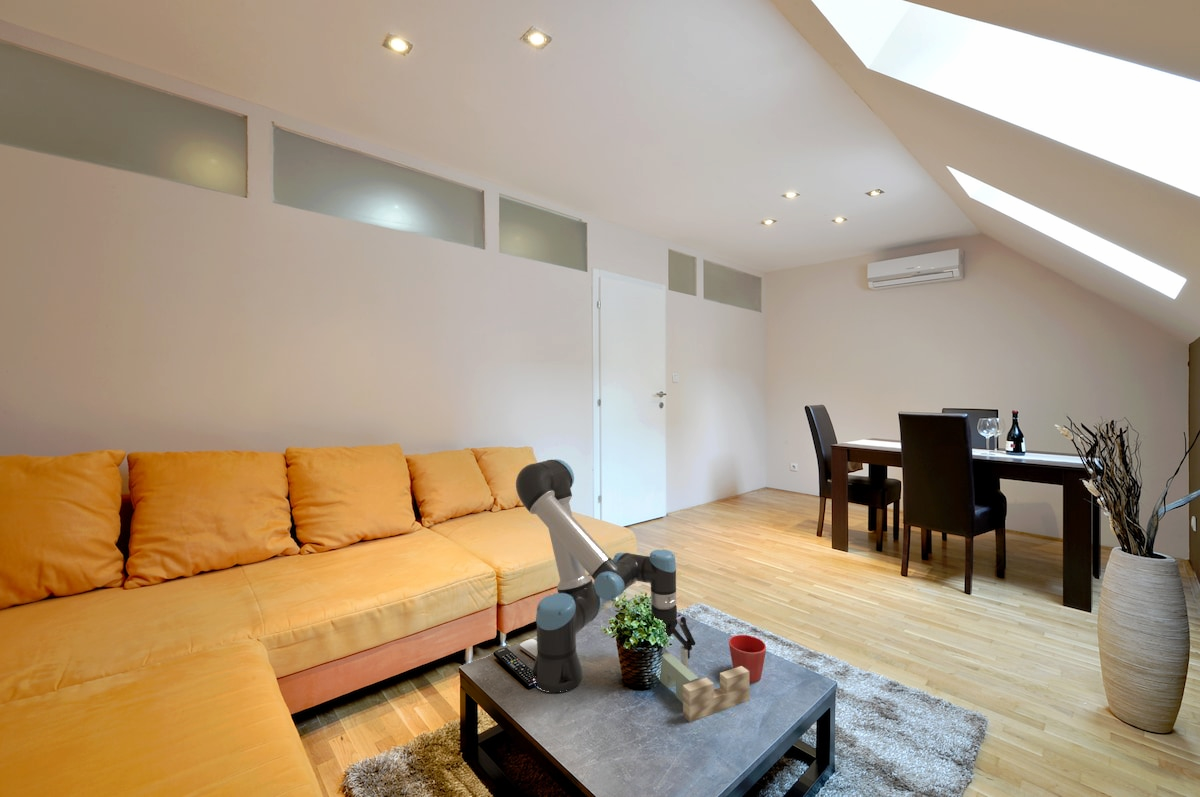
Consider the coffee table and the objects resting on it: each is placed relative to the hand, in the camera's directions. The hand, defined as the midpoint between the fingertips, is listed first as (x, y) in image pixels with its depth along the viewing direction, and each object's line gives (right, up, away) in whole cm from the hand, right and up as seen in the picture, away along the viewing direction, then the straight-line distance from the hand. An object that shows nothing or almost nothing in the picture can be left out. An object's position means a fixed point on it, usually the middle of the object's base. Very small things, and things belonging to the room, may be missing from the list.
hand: (665, 675), depth 143 cm
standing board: (+12, -1, -13) cm, 18 cm away
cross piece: (+2, -1, -5) cm, 6 cm away
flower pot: (+25, -1, +2) cm, 25 cm away
